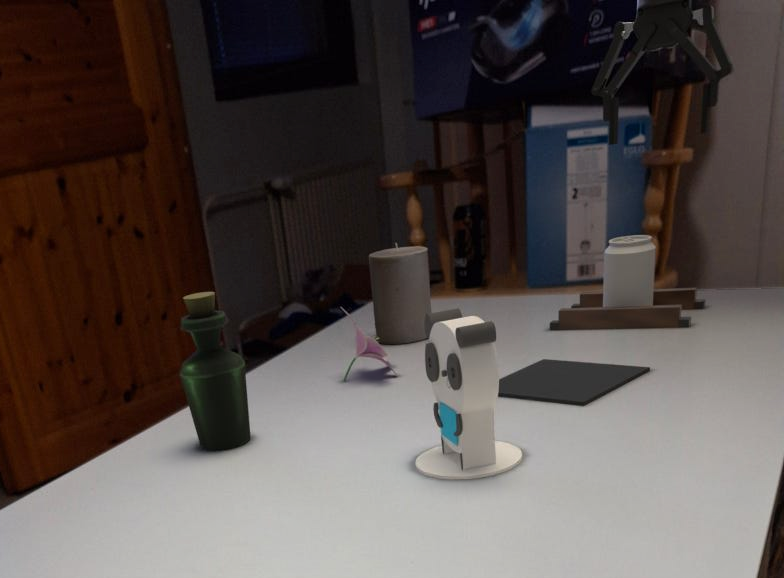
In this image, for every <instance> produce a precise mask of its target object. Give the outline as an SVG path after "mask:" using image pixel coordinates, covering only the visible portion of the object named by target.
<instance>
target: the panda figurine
mask: <svg viewBox="0 0 784 578" xmlns="http://www.w3.org/2000/svg"><path fill="white" fill-rule="evenodd" d="M425 332H426V336H427V338H426V339H428V342H427V343H426V344H425V348H424V364H425V365H424V366H425V374H426V377H427V379H428V380H429V381H430V384H431V387H432V391H433V394H434V397H435V400H436V402H433V406H432V407H433V408H432V409H433V410H432V411H433V416H434V420H435V423H436V425H437V427H438V428H440V440H441V441H440V443H441V445H437V446H434V447H432V448H430V449H427V450H425V451H424V452H422V453H421V454H419V456H418V457H416V460H415V468H416V470H417V471H418V472H419V473H421V474H422V475H425V476H427V477H431V478H435V479H441V480H455V481H456V480H457V481H458V480H475V479H482V478H487V477H491V476H492V477H493V476H495V475H500V474H502V473H504V472H507V471H509V470H511V469H513V468H515V467H517V466H518V465H519V464H520V463H521V462H522V460H523V452H522V450H521V449H520V447H518V446H516V445H514V444H511V443H509V442H504V441H500V440H496V436H495V411H494V408H495V406H496V404H497V400H498V397H499V396H498V391H499V379H500V372H499V371H500V370H499V360H498V355H497V354H498V353H497V348H496V341H497V328H496V325H495V322H493V321H492V320H490V321H484V320H483V319H482V318H480V317H479V316H476V315H469V316H464V317H463V315H462V311H461V309H460V308H458V307H457V308H451V309H446V310H440V311H436V312H435V311H434V312H431V313H429V314H426V316H425Z"/></svg>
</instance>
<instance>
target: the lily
mask: <svg viewBox="0 0 784 578" xmlns="http://www.w3.org/2000/svg"><path fill="white" fill-rule="evenodd" d="M340 309H341V310H342V311H343V312H344V313H345V314H346V315H347V316H348V318H349V320H350V322H351V323H352V325H353V326H354V331H355V356H354V357H353V359H352V361H351V362H350V363H349V366H348V368H347V371H346V373H345V375H344V378H343V380H342V381H343V382H346V380H347V378H348V375H349V373H350V370H351V368H352V366H353V364H354V363H355V362H356V360H357V359H358V358H359V357H360V358H361V357H362V358H371V359H375V360H378V361H381V362H382V363H383V364H384V365H386V366H387V367H388V368H389V369H390V370H391V371H392V372H393V373H394V374H395V375H396V377H399V376H398V375H397V373H396V371H395V370H394V369H393V367H392V364H391V362H390V361H389V360H387V359H386V358H385V357H387V356H388V353H387V351H385V349H384V348H383V346H382V345H381V343H378V342H379V341H376V340H377V338H378V339H380V338H379V337H377V338H376V334H373V337H372V336H370V335H365V334H364V333H363V331H362V330H361V329H360V328H359V327H358V326H357V323H356V322H355V320H354V318H353V316H352V315H350V314H349V313H348V311H346V310H345V309H344V308H343V307H342V306H340Z"/></svg>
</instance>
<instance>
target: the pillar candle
mask: <svg viewBox="0 0 784 578" xmlns="http://www.w3.org/2000/svg"><path fill="white" fill-rule="evenodd" d="M394 245H395V247H394V248H386V249H382V250H379V251H375V252H372V253H370V254H369V255H368V261H369V263H368V264H369V275H370V276H369V278H370V284H371V285H370V286H371V287H370V288H371V296H372V306H373V307H372V308H373V317H374V328H375V339H376V338H377V337H379V338H380V339H378V338H377V340H376V341H379V342H378V343H379V344H383V345H402V344H410V343H415V342H419V341H423V340H426V339H428V338H427V336H426V332H425V316H426V314H429V313H432V301H431V285H430V270H429V253H428V250H429V248H428V247H425V246H420V245H417V246H403V247H402V246H401V247H398V246H399V245H398V243H397V242H395V243H394Z"/></svg>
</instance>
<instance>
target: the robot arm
mask: <svg viewBox="0 0 784 578" xmlns="http://www.w3.org/2000/svg"><path fill="white" fill-rule="evenodd" d="M694 20H696V21H697V24H698V25H699V26H703V29H704V32H705V34H706V37H707V39H708V41H709V44H710V46H711V49H712V51H713V53H714V55H715V58H716V60H717V62H718V65H719V67H720V69H718V70H717V69H716V68H715V66H714V65H713V64H712V63H711V62H710V60H709V59H708V58H707V56H706V55H705V54H704V53H703V52H702V51H701V50H700V48H699V46H697V44H696V43H695V42H694V41H693V40H694V39H692V38H691V37H690V35H689V33H687V32H688V30H689V28H690V27H691V25H692V24H693V22H694ZM632 32H633V33H634V34H635V35H636V37H637V39H638V40H637V42H636V43H634V46H633V47H632V49H631V50H630V53H629V54H628V55H627V57H626V58H625V60H624V61H623V62H622V64H621V66H620V67H619V69H618V70H617V71H616V73H615V74H614V76H613V77H612V78H611V80H610V81H609V83H608V84H607V82H608V80H609V77H610V75H611V73H612V71H613V69H614V66H615V65H616V61H617V59H618V56H619V54H620V52H621V50H622V48H623V45H624V43H625V40H626V39H628V38H629V37H630V34H631V33H632ZM678 45H679V46H680V47H681V48H682V49H683V50H684V51H685V52H686V54H687V55H688V56H689V57H690V58H691V60H692V61H693V62H694V64H696V66H697V67H698V68H699V70H700V71H701V72H702V74H704V76H705V77H706V78H707V79H708V80H709V83H703V87H702V103H701V119H700V134H706V133H709V131H710V117H711V108H714V107H717V106H718V104H719V94H720V83H721V81H722V80H723V79H724V78H726V77H728V76H731V75H732V74H733V73H734V71H735V69H734V66H733V63H732V60H731V58H730V56H729V54H728V52H727V51H728V50H727V48H726V47H725V44H724V41H723V39H722V37H721V34H720V33H719V30H718V27H717V25H716V23H715V7H713V6H712V5H709V4H706V5H704V6H703V7H702V8H699V9H696V10H693V7H692V0H637V1H636V16H635V19H634V21H633V22H623V21H616V22H615V24H614V28H613V35H612V39H611V42H610V45H609V48H608V50H607V52H606V55H605V57H604V59H603V62H602V64H601V66H600V68H599V71H598V74H597V75H596V77H595V80H594V83H593V85H592V87H591V90H590V93H591V94H592V95H593V96H597V97H600V98H601V99H602V120H603V122H608V123H609V124H608V125H609V128H608V145H609V146H611V145H617V144H619V112H620V111H619V108H620V106H619V105H620V97H619V96H615V95H616V93H617V91H618V90H619V88H620V87H621V86H622V84H623V83H624V81H625V80H626V78H627V77H628V76H629V74H630V73H631V71H632V70H633V68H634V67H635V66H636V65H637V63H638V61H639V60H640V59H641V57H643V55H644V54H645V53H646V51H649V52H656V51H659V50H662V49H674V48H675V47H677V46H678ZM606 85H607V86H606Z"/></svg>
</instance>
